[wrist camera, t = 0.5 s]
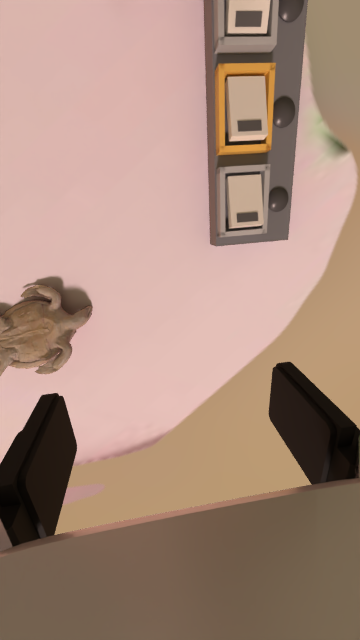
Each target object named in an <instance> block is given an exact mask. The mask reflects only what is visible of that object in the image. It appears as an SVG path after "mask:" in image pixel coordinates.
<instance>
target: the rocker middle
mask: <svg viewBox="0 0 360 640" xmlns="http://www.w3.org/2000/svg"><path fill="white" fill-rule="evenodd" d="M225 93H226V107H227V121H228V135H229V141H248V140H264V139H265V138H266V136H267V135H268V125H267V105H266V86H265V76H239V77H227V80H226V83H225Z"/></svg>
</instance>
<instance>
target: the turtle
mask: <svg viewBox="0 0 360 640" xmlns="http://www.w3.org/2000/svg"><path fill="white" fill-rule="evenodd" d="M33 295H34V296H41V297H45V298H47V299H50V300H52V301H51V303H50V302H46V301H42V300H32V301H25V302H22V303H21V304H17V305H15V306H13V307H12V308H11V309H9V310H7V311H6V312H5V314H4V315H2V316H1V317H0V376H1V374H2V373H3V372H4V370H5V369H6V368H7V366H8V365H9V366H12V367H16V368H26V369H28V368H33V367H38V366H39V368H38V369H39V370H36V371H35V372H37V373H39V374H50V373H53V372H55V371H57V370H59V369H60V368H61V367H62V366H63V365H64V364H65V363H66V362H67V361H68V359H69V358H70V356H71V354H72V347H71V344H70V343H69V342H70V340H71V339H72V337H73V336H74V334H75V333H76V329H78V328H80V327H81V326H83V325H84V324H85V323H86V322H87V321H88V320H89V318H90V316H91V315H92V313H91V312H92V307H91V306H87V307H86V308H84V309H82V310H80V311H78V312H76V313H75V314H74V315H70V314H69V313H67V312H65V311H64V310H63V309H62V306H61V295H60V294H59V293H58V292H57V291H56V290H55V289H53V288H51V287H48V286H43V285H36V286H33V287H30V288H28V289H27V290H25V291H24V292H23V294H22V295H21V297H24V298H27V297H28V296H29V297H31V296H33ZM58 353H59V354H58ZM57 354H58V355H57ZM46 362H47V363H46ZM45 363H46V364H45ZM42 364H44V365H42ZM40 365H42V366H40Z"/></svg>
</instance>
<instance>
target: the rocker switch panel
mask: <svg viewBox="0 0 360 640" xmlns="http://www.w3.org/2000/svg"><path fill="white" fill-rule="evenodd" d="M307 2H308V0H270V8H269V17H268V26H267V33H266V34H265V35H263V36H225V17H226V0H204V29H205V66H206V103H207V140H208V177H209V214H210V244H211V245H214V246H224V245H235V244H246V243H256V242H267V241H278V240H288V234H289V222H290V209H291V197H292V185H293V173H294V161H295V149H296V136H297V124H298V112H299V100H300V88H301V76H302V63H303V51H304V39H305V27H306V14H307ZM239 76H265V86H266V105H267V125H268V135H267V136H266V138H265V139H264V140H248V141H229V135H228V121H227V107H226V93H225V83H226V80H227V77H239ZM259 174H261V183H262V201H263V219H264V224H263V225H261V226H253V227H241V228H230V229H229V222H228V208H227V195H226V181H225V180H226V178H227V177H228V176H243V175H259Z"/></svg>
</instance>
